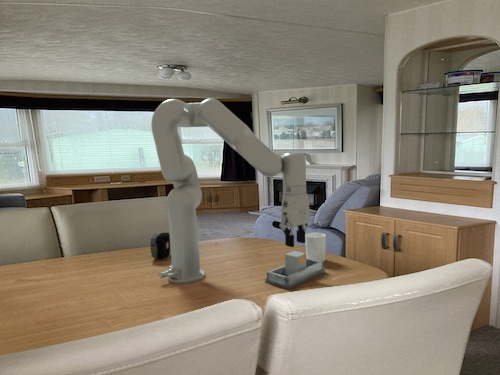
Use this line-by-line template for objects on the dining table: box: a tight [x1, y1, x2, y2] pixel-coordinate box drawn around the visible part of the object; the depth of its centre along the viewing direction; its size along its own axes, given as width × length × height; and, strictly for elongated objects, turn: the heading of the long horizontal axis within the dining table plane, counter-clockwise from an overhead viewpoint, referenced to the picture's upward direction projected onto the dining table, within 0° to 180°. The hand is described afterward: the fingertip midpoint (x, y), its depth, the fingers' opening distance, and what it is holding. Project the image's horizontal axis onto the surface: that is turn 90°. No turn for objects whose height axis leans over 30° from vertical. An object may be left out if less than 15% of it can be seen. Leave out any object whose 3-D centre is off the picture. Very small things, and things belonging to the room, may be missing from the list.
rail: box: [264, 257, 326, 290], centre depth 122 cm, size 20×10×4 cm, turn 136°
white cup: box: [304, 232, 327, 263], centre depth 138 cm, size 8×8×10 cm
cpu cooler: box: [149, 232, 171, 260], centre depth 148 cm, size 10×6×10 cm, turn 178°
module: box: [284, 250, 307, 275], centre depth 121 cm, size 5×5×7 cm
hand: (295, 243), depth 120 cm, fingers open, 5 cm apart
